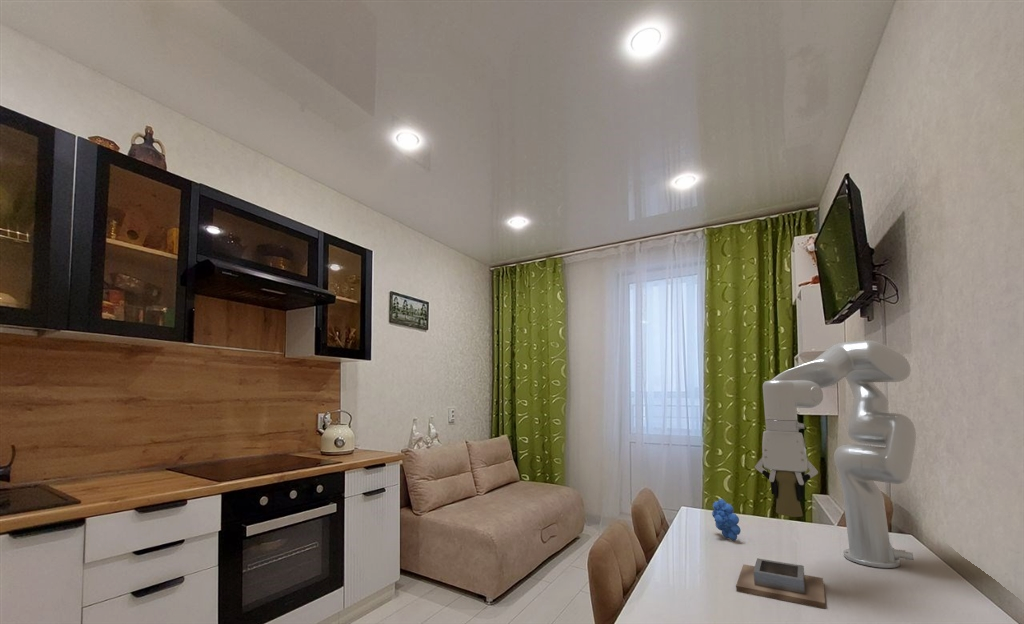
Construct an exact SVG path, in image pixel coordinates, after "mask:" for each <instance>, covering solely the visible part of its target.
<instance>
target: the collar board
mask: <svg viewBox="0 0 1024 624" xmlns="http://www.w3.org/2000/svg"><path fill="white" fill-rule="evenodd" d="M754 567H755V565H748V564H744V563H743V564H742V566H741V571H740V573H739V576H738V579H737V581H736V583H735V584H736V585H735V590H736V592H740V593H744V594H750V595H754V596H759V597H765V598H769V599H770V598H771V599H775V600H779V601H785V602H789V603H794V604H800V605H803V606H804V605H805V606H810V607H814V608H820V609H824V610H825V609H826V598H825V597H826V596H825V588H824V577H820V576H814V575H807V574H804V575H805V594H800V593H795V592H790V591H784V590H779V589H774V588H769V587H763V586H758V585H755V584H754V573H753V571H754Z"/></svg>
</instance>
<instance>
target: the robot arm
mask: <svg viewBox="0 0 1024 624" xmlns="http://www.w3.org/2000/svg"><path fill="white" fill-rule="evenodd" d="M910 375H911V364H910V363H909V360H908V359H907V358H906V357H905V356H904V355H903V353H901V352H899V351H897V350H895V349H893V348H891V347H890V346H888V345H885V344H883V343H881V342H878V341H875V340H872V339H871V340H868V339H867V340H865V339H864V340H857V341H846V342H845V341H843V342H839V343H835V344H833V345H832V346H830V347H829V348H828V349H826V350H825V351H824V352H822V353H821V354H819V355H818V356H817V357H816V358H814V359H812V361H808V362H805V363H802V364H800V365H798V366H794V367H792V368H789V369H787V370H784V371H782V372H781V373H779V374H777V375H776V376H775V377H773V378H772V379H771V380H766V381H764V382H763V384H762V394H763V395H762V397H763V408H764V420H765V421H764V423H765V430H764V431H763V432H762V442H761V443H762V445H761V446H762V449H761V451H762V455H761V458H759V460H758V461H757V463H756V464H755V465H754V469H756V470H757V471H758V472H759V473H761V474H762V475H763V476H764V477H765V478H766V479H767V480H768V481H769V482H770V490H771V491H770V492H771V494H772V495H774V499H777V498H778V492H777V486H778V482H777V480H776V479H775V474H776V471H788V472H795V474H796V477H797V482H796V487H797V497H798V500H799V501H800V502H802V498H805V495H804V494H805V493H804V491H805V490H804V485H805V483H806V482H807V481H809V480H810V479H811V478H813V477H815V476H816V475H818V474H819V471H818V470H817V468H815V466H814V465H813V464H812V463H811V462H810V460H809V459H808V457H807V456H808V455H807V447H806V444H805V438H804V436H803V433H802V432H799V430H802V429H804V430H805V423H804V422H799V421H798V413H797V411H798V410H797V408H798V409H812V408H815V407H817V406H819V405H820V404H821V403H822V402H823V400H824V392H823V389H825V388H828V387H831V386H834V385H837V384H838V383H839V382H841V380H843V379H844V378H845V380H846V382H847V384H848V385H849V388H850V390H851V392H852V395H853V399H852V404H851V405H852V406H851V410H850V414H849V418H848V423H847V435H848V436H849V438H850V439H851V440H852V441H854V442H856V444H854V443H848V444H843V445H840V446H838V447H837V448H836V449H835V450H834V453H833V454H834V455H833V460H834V464H835V467H836V470H837V475H838V477H839V481H840V486H841V491H842V497H843V507H844V517H845V522H846V523H845V524H846V532H847V539H848V540H847V541H848V547H849V548H846V549H844V550H843V552H842V553H843V556H844V557H845V558H846V559H847V560H849V561H851V562H854V563H856V564H859V565H863V566H868V567H873V568H882V569H893V568H898V567H899V566H900V565H901V563H900V559H904V560H906V561H907V560H909V561H914V558H915V557H914V553H913V552H911V551H910V552H909V551H906V549H905V550H904V549H895V548H894V547H893V546H892V544H891V542H890V535H889V527H888V520H887V513H886V506H885V504H886V503H885V498H884V495H883V492H882V491H881V489H880V487H878V485H877V484H876V483H875V482H880V483H887V484H893V485H894V484H895V485H901V484H905V482H907V481H908V479H909V477H910V475H911V470H912V466H913V460H914V454H915V447H916V440H917V432H916V427H915V425H914V422H913V421H912V419H910V418H909V416H907V415H904V414H902V413H897V412H888V409H889V401H888V398H887V397H886V395H885V394H884V392H883V391H881V389H879V388H878V387H877V386H876V385H875V383H900V382H903V381H906V380H907V379H908V378H909V376H910ZM857 443H859V444H857ZM768 470H769V471H770V472H769V471H768ZM808 470H809V471H808ZM806 472H807V473H806ZM802 473H805V474H802Z"/></svg>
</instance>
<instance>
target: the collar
mask: <svg viewBox="0 0 1024 624" xmlns="http://www.w3.org/2000/svg"><path fill="white" fill-rule="evenodd" d="M754 566H755V567H754V571H753V573H754V584H755V585H758V586H763V587H769V588H774V589H779V590H784V591H790V592H795V593H800V594H805V575H806V574H805V568H804V567H805V566H804V565H800V564H796V563H795V564H794V563H788V562H782V561H776V560H769V559H763V558H756V561H755V565H754Z"/></svg>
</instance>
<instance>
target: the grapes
mask: <svg viewBox="0 0 1024 624" xmlns="http://www.w3.org/2000/svg"><path fill="white" fill-rule="evenodd" d="M712 507H713V510H712V512H711V515H712V518H714V522H715V527H716V528H717V530H719V531H721V535H722V536H723V537H724V539H730V540H732V541H736V540H737V539H738V536H739V535H740V534H741V528H740V526H739V525H738V524H740V523H739V522H740V518H739V516H738V515H737V514H736V513H734V510H735V509H734V507H733V505H732V504H730V503H729V502H728V503H727V501H725V499H723V498H719V499H718V501H717V500H715V501H714V502H713V503H712Z"/></svg>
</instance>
